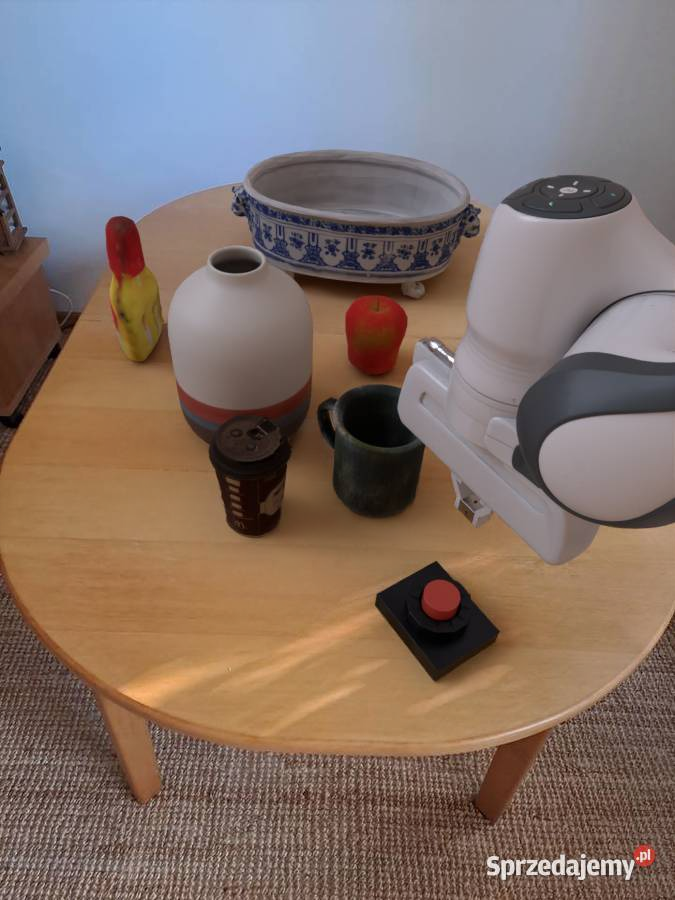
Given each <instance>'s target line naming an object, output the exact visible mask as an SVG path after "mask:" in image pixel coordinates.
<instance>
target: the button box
mask: <svg viewBox="0 0 675 900" xmlns="http://www.w3.org/2000/svg"><path fill="white" fill-rule="evenodd" d="M434 580H445V581H448V582H450V583H452V584H453V585H454V586H455V587H456V588H457V589H458V591H459V593H460V603H459V606H458V609H457V612H456V614H455V615H454V616H453V617H452V618H450V619H448V620H444V621H439V620H435V619H432V618H431V617H429V616H428V615H427V614H426V613H425V612H424V610H423V608H422V605H421V601H422V596H423V592H424V589H425V587H426V585H427V584H428V583H430V582H432V581H434ZM374 606H375V607H376V609H377V610H378V611H379V612H380V614H381V615H382V616H383V618H384V619H385V621H386V622H387V623H388V624H389V625H390V627H391V628H392V629H393V631H394V632H395V633H396V634H397V636H398V637H399V638H400V640H401V641H402V643H404V645H405V646H406V647H407V649H408V650H409V652H410V653H411V654H412V655H413V656H414V658H415V659H416V660H417V662H418V663H419V664H420V665H421V667H422V668H423V669H424V671H425V672H426V673H427V675H428V676H429V677H430V678H431V679H432V681H433V682H434V683H435V682H437V681H439V680H440V679H441V678H443V677H444V676H446V675H448V674H449V673H451V672H452V671H454V670H455V669H457V668H458V667H460V666H461V665H463V664H464V663H466V662H467V661H469V660H471V659H472V658H474V657H475V656H477V655H478V654H479V653H482V652H483V651H485V650H486V649H487V648H489V647H490V646H492V645H493V644H495V643H496V642H497V640H498V637H499V635H500V632H501V631H500V630H499V628H498V627H497V626H496V625H495V624H494V623H493V621H491V620H490V619H489V617H488V616H487V615H486V614H485V613H484V611H482V610H481V609H480V607H479V606H478V605H477V604H476V603H475V602H474V600H473V599H472V595H471V593H470V592H468V590H467V589H466V588H465V587H464V586H463V584H462V583H461V582H460V581H458V580H455V579H454V578H453V576H451V575H450V574H449V572H448V571H447V570H446V569H445V568H444V567H443V566H442V565H441V563H440V562H439V561H438V560H434V561H433V562H430V563H429V564H427V565H426V566H424V567H422V568H420V569H418V570H417V571H415V572H413V573H411V574H409V575H408V576H406V577H404V578H402V579H400V580H398V581H397V582H395V583H393V584H392V585H390V586H388V587H386V588H385V589H383V590H381V591H379V592H377V593H376V594H375V601H374Z"/></svg>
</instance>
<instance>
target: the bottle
mask: <svg viewBox="0 0 675 900" xmlns="http://www.w3.org/2000/svg"><path fill="white" fill-rule="evenodd" d="M104 231H105V232H104V233H105V248H106V250H105V251H106V255H107V260H108V265H109V269H110V271H111V276H112V278H111V281H110V287H109V305H110V309H111V316H112V320H113V323H114V328H115V331H116V334H117V337H118V340H119V343H120V346H121V348H122V350H123V353H124V354H125V356H126V357H127V358H128V359H130V360H131V361H134V362H144V361H146V360H147V358H148V357H149V356H150V355H151V353H153V351H154V349H155V347H156V346H157V344H158V342H159V341H160V336H161V334H162V331H163V324H164V322H165V319H164V317H163V309H162V304H161V296H160V287H159V283H158V280H157V278H156V276H155V274H154V273H153V272H152V271H151V269H149V267H148V266H147V264H146V261H145V257H144V256H145V255H144V252H143V246H142V241H141V236H140V233H139V229H138V227H137V225H136V222H135V221H134V220H133V219H132V218H129V217H127V216H124V215H117V216H113V217H111V218H109V219H108V221H107V222H106V225H105V230H104Z"/></svg>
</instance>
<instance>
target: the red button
mask: <svg viewBox="0 0 675 900" xmlns="http://www.w3.org/2000/svg"><path fill="white" fill-rule="evenodd" d="M459 603H460V593H459V591H458V589H457V588H456V587H455V586H454V585H453V584H452V583H450V582H448V581H445V580H434V581H432V582H430V583H428V584H427V585H426V587H425V589H424V592H423V596H422V601H421V605H422V608H423V610H424V612H425V613H426V614H427V615H428V616H429V617H431V618H432V619H435V620H439V621H444V620H448V619H450V618H452V617H453V616H454V615H455V614H456V612H457V609H458V606H459Z"/></svg>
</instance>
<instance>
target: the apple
mask: <svg viewBox="0 0 675 900" xmlns="http://www.w3.org/2000/svg"><path fill="white" fill-rule="evenodd" d="M344 319H345V320H344V321H345V323H344V324H345V325H344V326H345V327H344V330H345V338H346V343H347V359H348V361H349V362H350V364H351V365H352V366H353V367H355V368H356V369H357V370H359V372H362V373H363V374H366V375H368V376H377V375H378V376H379V375H382V374H385V373H387V372H389V371H392V370H393V369H394V368H395V366H396V364H397V362H398V356H399V352H400V348H401V345H402V343H403V341H404V339H405V337H406V332H407V330H408V329H407V328H408V324H409V323H408V319H409V316H408V315H407V313H406V310H405V309H404V308H403V306H401V304H399V303H398V302H397V301H395V300H394V299H392V298H389V297H387V296H383V295H374V294H373V295H364V296H360V297H358V298H356V299H355V300H354V301H353V302H352V303H351V304H350V305H349V307H348V309H347V311H346V312H345V318H344Z"/></svg>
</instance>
